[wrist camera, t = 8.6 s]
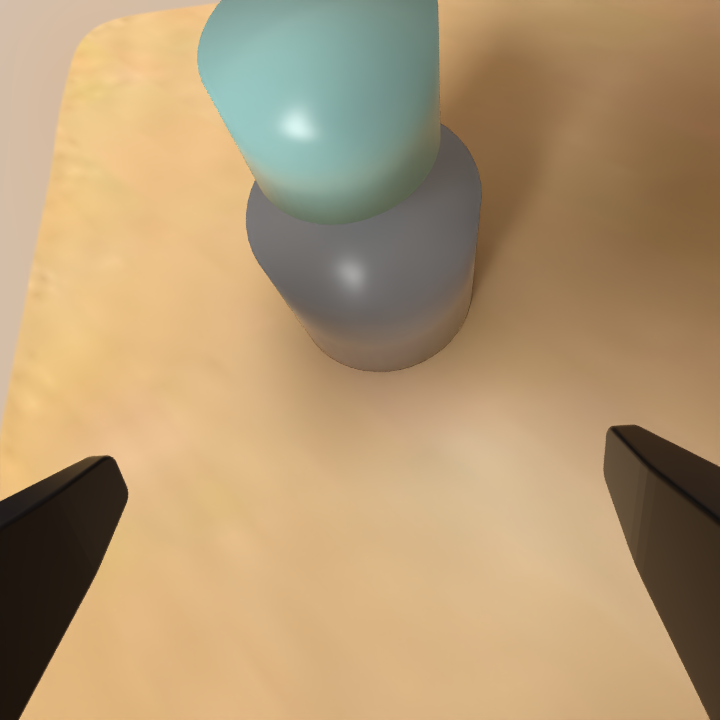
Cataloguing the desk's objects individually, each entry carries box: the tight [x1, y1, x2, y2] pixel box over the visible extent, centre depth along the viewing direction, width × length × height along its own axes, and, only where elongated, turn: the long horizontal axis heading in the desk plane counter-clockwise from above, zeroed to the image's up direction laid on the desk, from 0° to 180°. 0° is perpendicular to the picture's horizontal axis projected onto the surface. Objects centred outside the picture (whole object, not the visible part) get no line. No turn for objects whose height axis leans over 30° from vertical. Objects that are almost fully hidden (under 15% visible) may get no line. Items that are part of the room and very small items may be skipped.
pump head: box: [197, 0, 441, 225], centre depth 12 cm, size 7×5×5 cm, turn 2°
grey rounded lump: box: [246, 123, 481, 372], centre depth 17 cm, size 7×7×6 cm
